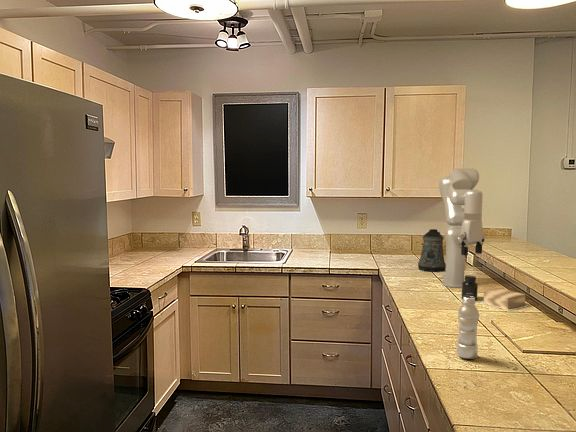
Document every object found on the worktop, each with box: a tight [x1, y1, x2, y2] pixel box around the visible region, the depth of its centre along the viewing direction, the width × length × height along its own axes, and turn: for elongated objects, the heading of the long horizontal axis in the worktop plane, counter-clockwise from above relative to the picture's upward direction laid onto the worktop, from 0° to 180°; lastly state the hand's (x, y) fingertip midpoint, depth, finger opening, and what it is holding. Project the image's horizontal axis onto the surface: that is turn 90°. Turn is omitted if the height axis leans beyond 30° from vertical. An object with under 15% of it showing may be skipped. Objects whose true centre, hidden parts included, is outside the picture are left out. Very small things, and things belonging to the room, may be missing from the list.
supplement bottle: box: [460, 274, 479, 302], centre depth 212 cm, size 7×7×12 cm
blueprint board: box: [479, 300, 531, 312], centre depth 204 cm, size 16×14×1 cm
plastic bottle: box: [456, 296, 480, 360], centre depth 147 cm, size 6×7×20 cm
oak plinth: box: [483, 288, 526, 310], centre depth 204 cm, size 12×12×5 cm
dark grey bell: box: [417, 228, 446, 273], centre depth 284 cm, size 16×19×25 cm
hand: (471, 254), depth 210 cm, fingers open, 9 cm apart
